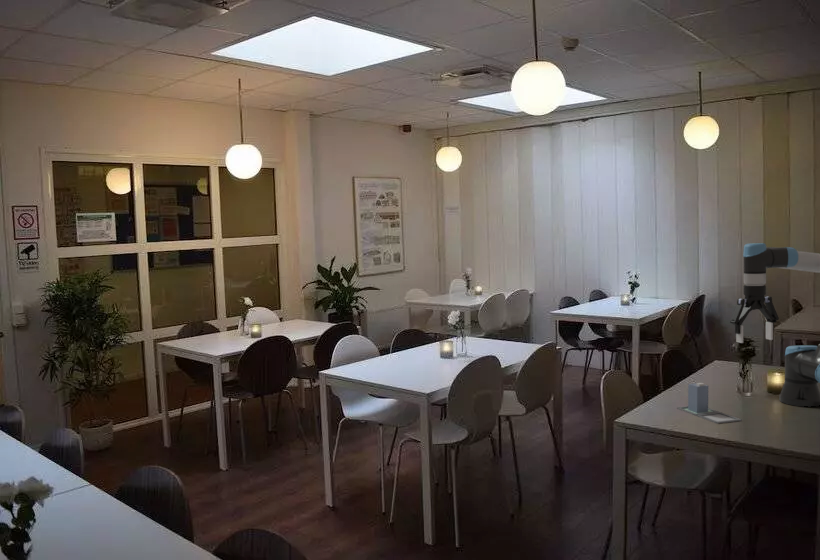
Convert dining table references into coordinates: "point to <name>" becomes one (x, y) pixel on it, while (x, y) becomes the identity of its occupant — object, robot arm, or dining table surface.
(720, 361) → the dining table surface
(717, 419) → the dock
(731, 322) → the robot arm
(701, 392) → the blue rectangular block
